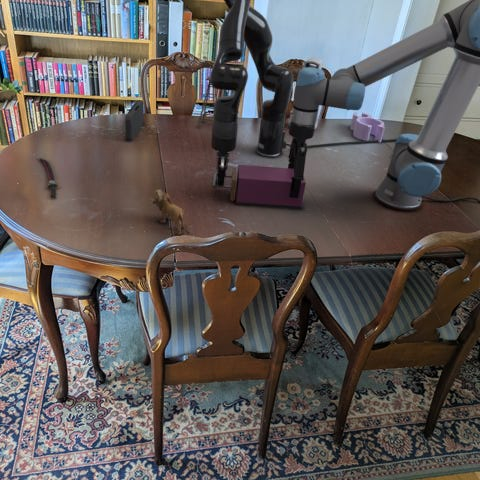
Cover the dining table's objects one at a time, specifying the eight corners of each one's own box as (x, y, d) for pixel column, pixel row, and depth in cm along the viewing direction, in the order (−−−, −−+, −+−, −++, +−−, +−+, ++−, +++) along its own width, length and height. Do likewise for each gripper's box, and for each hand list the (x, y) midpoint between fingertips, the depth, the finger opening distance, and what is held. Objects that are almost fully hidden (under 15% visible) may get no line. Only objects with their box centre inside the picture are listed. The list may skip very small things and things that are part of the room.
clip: (343, 126, 223) (346, 112, 219) (367, 127, 225) (371, 113, 221) (360, 142, 206) (364, 127, 202) (386, 142, 209) (390, 127, 205)
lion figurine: (148, 218, 136) (147, 190, 131) (161, 212, 139) (161, 185, 134) (183, 238, 128) (184, 210, 123) (197, 232, 132) (198, 204, 127)
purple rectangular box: (236, 204, 148) (238, 178, 143) (235, 189, 156) (238, 164, 151) (301, 209, 149) (305, 183, 144) (297, 194, 158) (301, 169, 153)
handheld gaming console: (137, 122, 202) (137, 99, 196) (144, 122, 202) (143, 99, 196) (124, 141, 182) (123, 116, 177) (131, 141, 182) (131, 116, 177)
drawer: (211, 199, 147) (212, 178, 143) (212, 186, 155) (213, 166, 151) (291, 204, 149) (294, 184, 145) (288, 191, 157) (291, 172, 153)
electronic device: (317, 128, 217) (329, 60, 200) (313, 133, 211) (326, 64, 194) (291, 123, 219) (301, 56, 203) (287, 127, 213) (297, 59, 197)
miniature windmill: (215, 130, 202) (220, 57, 186) (196, 127, 203) (199, 55, 187) (220, 124, 209) (225, 53, 193) (202, 121, 210) (205, 51, 194)
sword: (61, 197, 141) (61, 193, 140) (50, 198, 139) (50, 194, 139) (49, 160, 164) (48, 156, 163) (39, 160, 163) (39, 157, 162)
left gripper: (212, 124, 146) (209, 175, 155) (211, 140, 134) (208, 193, 144) (236, 126, 146) (232, 177, 155) (237, 142, 135) (232, 195, 144)
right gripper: (286, 109, 148) (277, 173, 160) (295, 135, 129) (283, 205, 141) (309, 111, 149) (298, 175, 161) (321, 137, 130) (308, 207, 142)
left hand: (220, 185), depth 150 cm, fingers closed
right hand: (291, 189), depth 151 cm, fingers closed on purple rectangular box, 10 cm apart
